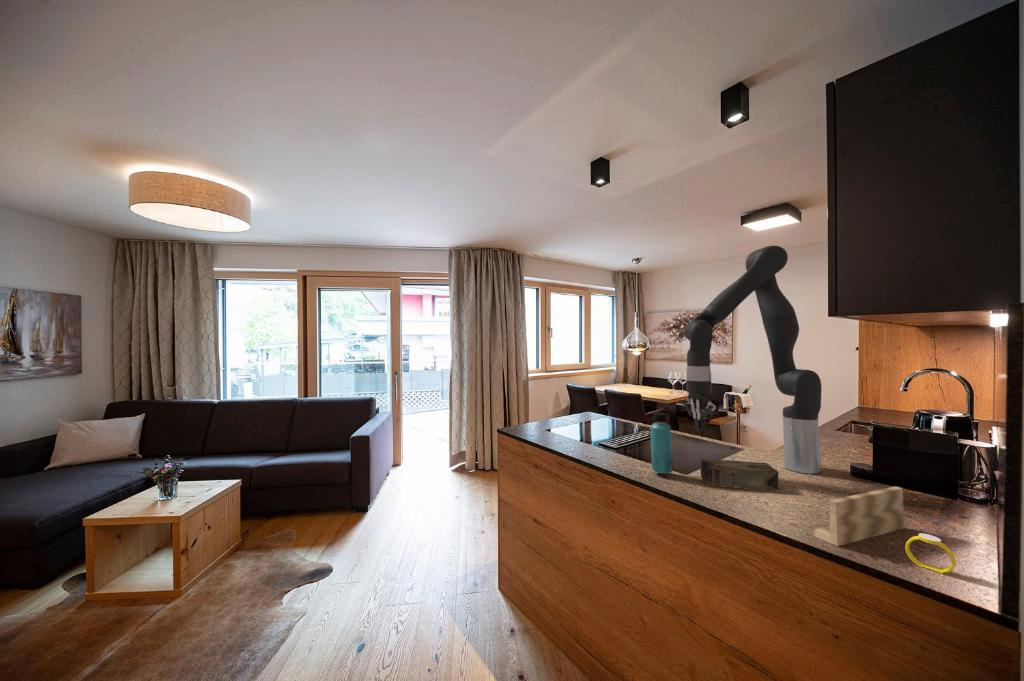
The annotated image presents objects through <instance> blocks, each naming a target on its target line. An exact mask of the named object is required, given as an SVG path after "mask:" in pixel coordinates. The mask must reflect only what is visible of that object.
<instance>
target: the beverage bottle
mask: <svg viewBox="0 0 1024 681" xmlns="http://www.w3.org/2000/svg"><path fill="white" fill-rule="evenodd" d="M652 418H653V419H652V420H653V421H656V422H653V423H652V424H651V425H650V426H649V427H650V458H651V460H650V461H651V463H650V464H651V469H652V471H653V472H655V473H660V474H670V473H672V472H673V468H674V467H673V460H674V459H673V446H672V431H671V430H672V427H671V426H670V425H669V424H668V423H665V421H667V420H668V418H667V413H664V412H654V413H653V417H652ZM658 421H659V422H658Z"/></svg>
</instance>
